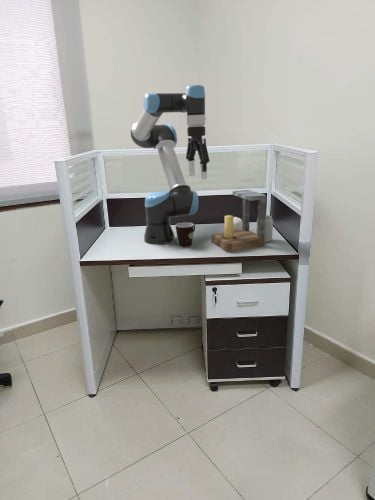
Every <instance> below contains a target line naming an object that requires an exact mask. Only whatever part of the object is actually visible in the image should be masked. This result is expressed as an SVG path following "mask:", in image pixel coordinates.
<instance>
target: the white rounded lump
mask: <svg viewBox="0 0 375 500" xmlns="http://www.w3.org/2000/svg"><path fill="white" fill-rule="evenodd" d="M242 221H243V219H242V218H240V217H237V216H233V231H237V230H242ZM249 231H251V225H250V224H249Z"/></svg>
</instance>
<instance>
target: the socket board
mask: <svg viewBox="0 0 375 500" xmlns="http://www.w3.org/2000/svg"><path fill="white" fill-rule="evenodd" d="M232 196H235V197H238V198H240V199H242V230H237V231H233V239H229V240H226V239H224V232H218V233H213V234H211V243H212V244H214V245H215V246H217V247H218V248H220V249H222V251H224V252H225V253H233V252H234V253H235V252H238V251H239V252H240V251H243V250H244V251H245V250H251V249H255V248H261V247H265V243H264V238H265V215H267V211H266V209H267V195H266V194H264V193H260V192H257V191H253V190H250V189H242V190H240V189H239V190H233V191H232ZM251 201H258V202H257V203H258V205H257V219H258V226H257V225H256V231H257V234H256V233H255V232H253V231H252V230H249V225H250V215H251V213H250V210H251V209H250V208H251V207H250V206H251V205H250V204H251Z"/></svg>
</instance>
